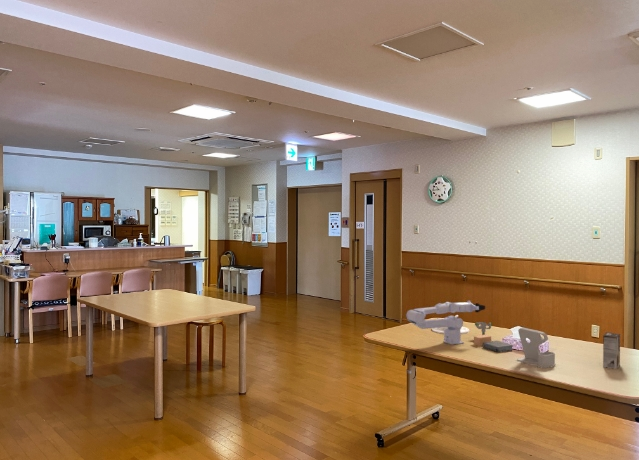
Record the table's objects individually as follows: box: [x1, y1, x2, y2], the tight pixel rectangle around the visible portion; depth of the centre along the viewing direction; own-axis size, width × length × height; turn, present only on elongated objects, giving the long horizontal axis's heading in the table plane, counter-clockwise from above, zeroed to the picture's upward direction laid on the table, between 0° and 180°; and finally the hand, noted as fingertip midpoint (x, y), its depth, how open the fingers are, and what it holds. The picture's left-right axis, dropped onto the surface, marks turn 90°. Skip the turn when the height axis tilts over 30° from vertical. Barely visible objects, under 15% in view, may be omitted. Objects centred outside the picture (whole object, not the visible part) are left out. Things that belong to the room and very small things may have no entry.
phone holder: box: [516, 326, 557, 369], centre depth 259 cm, size 17×10×18 cm, turn 29°
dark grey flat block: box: [482, 340, 514, 353], centre depth 288 cm, size 11×12×3 cm
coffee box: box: [602, 331, 621, 370], centre depth 253 cm, size 9×6×16 cm
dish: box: [431, 314, 470, 335], centre depth 337 cm, size 25×25×11 cm
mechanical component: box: [474, 321, 493, 335], centre depth 313 cm, size 3×10×10 cm, turn 89°
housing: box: [473, 334, 492, 347], centre depth 299 cm, size 10×5×5 cm, turn 115°
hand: (480, 306), depth 311 cm, fingers open, 7 cm apart
